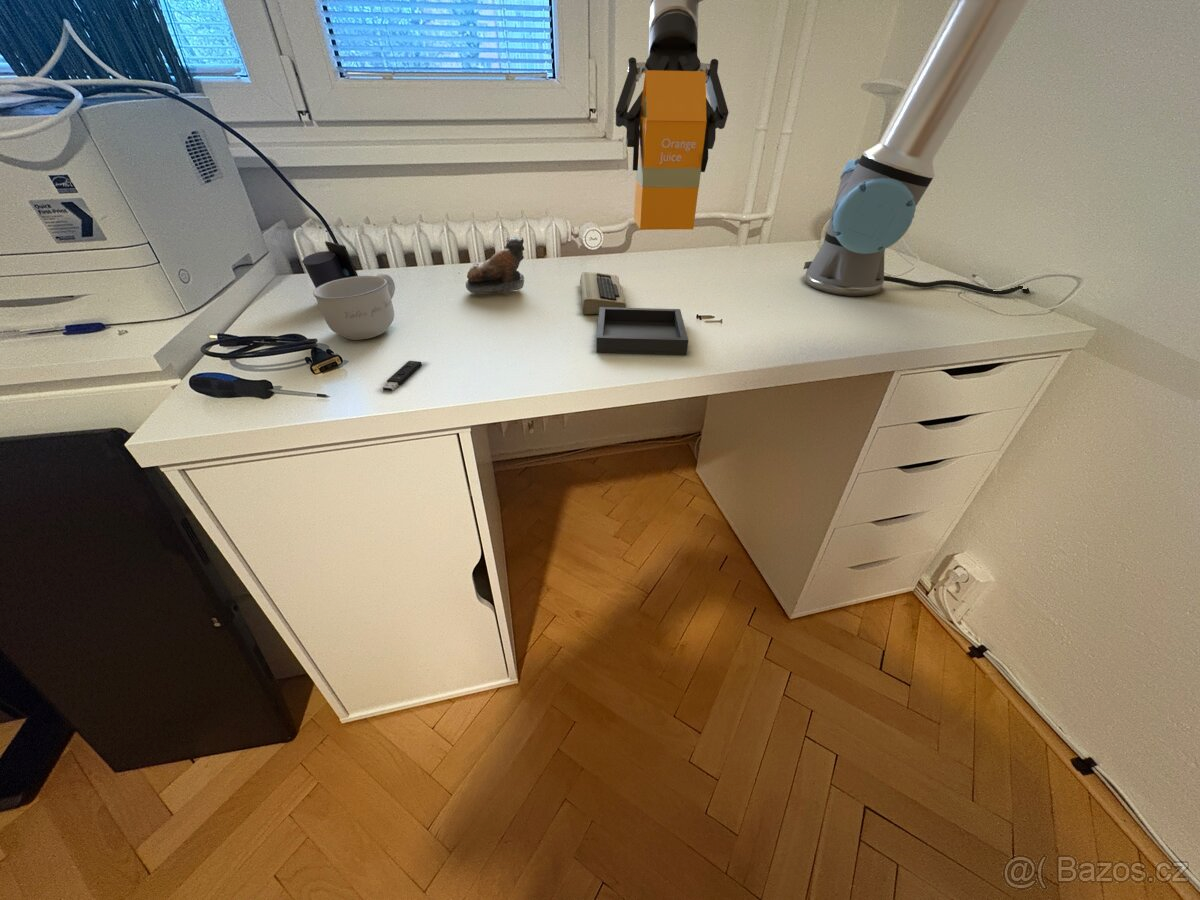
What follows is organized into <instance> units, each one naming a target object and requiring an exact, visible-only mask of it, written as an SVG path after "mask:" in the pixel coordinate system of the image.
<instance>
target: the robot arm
mask: <svg viewBox="0 0 1200 900" xmlns="http://www.w3.org/2000/svg"><path fill="white" fill-rule="evenodd" d="M703 1H704V0H650V7H649V26H648V27H649V28H648V30H649V32H648V33H649V37H648V56H647V58H646V60H645V61H639V62H638V61H637V58H636V57H633V56H632V57H629V59H628V61H627V62H628V63H627V64H628V65H627V75H626V78H625V81H624V83H623V87H622V90H621V92H620V96H619V98H618V102H617V104H616V108H615V126H616V127H618V128H620V127H624V128H625V129H626V137H625V138H626V139H625V145H626V148H633V152H632V171H635V172H636V171H638V157H639V131H640V118H639V116H640V114H641V108H642V106H641V101H642V94H643V90H642V91H641V92H640V93H639V95H638V96H637V99H636V100H635V101H634V103H633V104H632V106H631V108H630V105H631V102H632V99H633V96H634V94H635V90H636V86H637V83H638V82H640V79H641V78H642V75H644V74H645V72H646V70H661V71H705V76H706V93H707V96H708V98H707V97H706V120H707V122H706V131H705V139H704V147H703V155H702V163H701V173H705V172H706V169H707V165H708V161H709V150H713V149H714V146H715V141H716V129H719V130H723V129H724V128H725V127H726V123H727V120H728V117H729V113H730V112H729V108H728V105H727V102H726V98H725V95H724V91H723V87H722V84H721V81H720V77H719V74H718V71H719V70H718V69H719V60H718V59H717V58H712V59H711V60H710V63H704V62H701V60H700V58H699V56H698V44H699V43H698V41H699V40H698V39H699V37H698V36H699V33H698V31H699V3H701V2H703ZM1028 2H1030V1H1029V0H953V1H952V3H951V5H950V7H949V9H948V10H947V13H946V15H945V16H944V19H943V20H942V22H941V24H940V26H939V27H938V29H937V32H936V33H935V36H934V37H933V39H932V41H931V43H930V45H929V47H928V49H927V50H926V52H925V55H924V56H923V58H922V59H921V62H920V63H919V66H918V68H917V70H916V72H915V73H914V75H913V77H912V79H911V82H909V85H908V87H907V89H906V91H905V93H904V94H903V96H902V98H901V100H900V102H899V103H898V106H897V107H896V110H895V111H894V113H893V115H892V117H891V119H890V121H889V123H888V125H887V127H886V128H885V131H884V132H883V135H882V136H881V138H880V140H879V142H877V144H875V145H873V146H871V147H870V148H868V149H866V150H864V151H863V152H862V154H861V156H860V158H852V159H850V160H848V161H847V162H846V163H845V165H844V168H843V171H842V172H841V174H840V181H839V185H838V189H837V191H836V196H835V199H834V203H833V206H832V210H831V214H830V218H829V221H828V226H827V228H826V232H825V235H824V239H823V242H822V244H821V247H819V249H818V251H817V253H816V254H815V256H814V258H813V259H812V260H809V261H805V262H804V265H803V270H806V271H805V276H804V279H803V280H804V283H806V284H807V285H808V286H809V287H811V288H813V289H816V290H818V291H821V292H825V293H829V294H834V295H840V296H848V297H865V296H874V295H876V294H879V293H880V292H881V290H882V288H883V285H884V282H889V283H896V284H900V285H901V284H902V285H906V286H910V287H915V288H931V287H937V286H955V287H960V288H965V289H968V290H972V291H976V292H979V293H984V294H988V295H997V296H1004V295H1010V294H1012V293H1015V292H1017V291H1019V290H1021V291H1022V293H1024V294H1031V291H1030V288H1029V287H1028V288H1027V289H1022V288H1023V286H1018V287H1015V288H1012V287H1010V289H1009V288H1006V289H1001V290H1002V291H993V290H997V289H995V288H989V287H985V286H980V285H976V284H973V283H968V282H964V281H960V280H953V279H941V280H940V279H939V280H934V281H928V282H927V281H926V282H925V281H921V282H920V281H916V280H910V279H906V278H901V277H896V276H891V275H889V276H888V275H885V253H886V252H885V251H886V249H888V248H890V247H892V246H893V245H894V244H896V243H897V242H898V241H900V240H901V239H902V238H903V236H904V235H905V234H906V233H907V231H909V228H910V227H911V225H912V223H913V219H914V218H915V213H916V210H917V209H916V207H917V205H918V204H919V202H921V201H920V200H921V199H922V197H923V196H924V194H925V192H926V191H927V190H928V188H929V186H930V184H931V183H932V182H933V179H934V178H935V177H936V174H935V169H934V163H933V162H934V158H936V156H937V153H938V152H939V150H940V149H941V147H942V145H943V143H944V142H945V140H946V139H947V138H948V136H949V134H950V132H951V130H952V129H953V127H954V126H955V123H956V122H957V120H958V119H959V117H960V115H962V112H963V110H964V109H965V107H966V106H967V105H968V102H969V101H970V98H971V97H972V95H974V92H975V90H976V89H977V87H978V86H979V84H980V83H981V81H982V79H983V77H984V76H985V74H986V72H987V70H988V69H989V68H990V65H991V64H992V62H993V61H994V59H995V57H996V55H997V54H998V52H999V51H1000V49H1001V47H1002V46H1003V44H1004V43H1005V41H1006V39H1007V37H1008V35H1009V34H1010V32H1011V31H1012V29H1013V28H1014V26H1015V24H1016V22H1017V21H1018V19H1019V17H1020V16H1021V14H1022V12H1023V11H1024V9H1025V8H1026V6H1027V5H1028Z"/></svg>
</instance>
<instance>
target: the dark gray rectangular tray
mask: <svg viewBox="0 0 1200 900" xmlns="http://www.w3.org/2000/svg"><path fill="white" fill-rule="evenodd" d="M595 338H596V344H595V345H596V350H595V351H596V353H597V354H631V355H632V354H633V355H635V354H636V355H663V356H665V355H667V356H687V354H688V347H689V346H688V345H689V338H688V334H687V330H686V326H685V323H684V319H683V315H682V311H681V309H680V308H651V307H649V308H647V307H626V308H617V307H600V309H599V314H598V318H597V330H596V337H595Z"/></svg>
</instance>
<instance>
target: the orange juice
mask: <svg viewBox="0 0 1200 900" xmlns="http://www.w3.org/2000/svg"><path fill="white" fill-rule="evenodd" d="M706 85H707V83H706V76H705V71H661V70H646V72H645V73H644V80H643V88H642V91H643V94H642V101H641V106H642V108H641V114H640V116H639V118H640V131H639V157H638V171H635V187H634V188H635V189H634V207H633V208H634V209H633V212H634V213H633V220H634V222H635V224H636V226H637V227H638V229H639V230H641V231H642V230H648V231H649V230H654V231H655V230H694V228H695V220H696V211H697V203H698V195H699V188H700V182H701V175H702V174H701V173H702V172H701V163H702V155H703V147H704V139H705V131H706V122H707V120H706V98H707V86H706Z"/></svg>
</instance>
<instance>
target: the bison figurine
mask: <svg viewBox="0 0 1200 900" xmlns="http://www.w3.org/2000/svg"><path fill="white" fill-rule="evenodd" d="M505 240H506V241H505V242H506V244H505V246H504V248H503V249H502V248H501V249H499V250H498V251H496V252H495V253H494V254H493V255H492V256H491V257H490V258H489V259H487V260H485V261H483V263H482V264H479V263H478V262H475V263H473V265H472V266H471V267H470V268H469V270H468V271H467V275H466V277H467V280H466V282H465V288H466V290H467V291H468V292H469V293H471V294H479V295H496V294H505V293H509V292H513V291H519V290H521V289H523V288H524V284H525V277H524V274H523V273H521V272H520V271H519V270H518V269H519V266H520V263H521V262H522V260H523V259H524V252H523V251H525V247H524V242H525V241H524V238H523V237H521V239H520V238H519V237H517V236H516V237H511V238H508V237H507V238H506V239H505Z"/></svg>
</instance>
